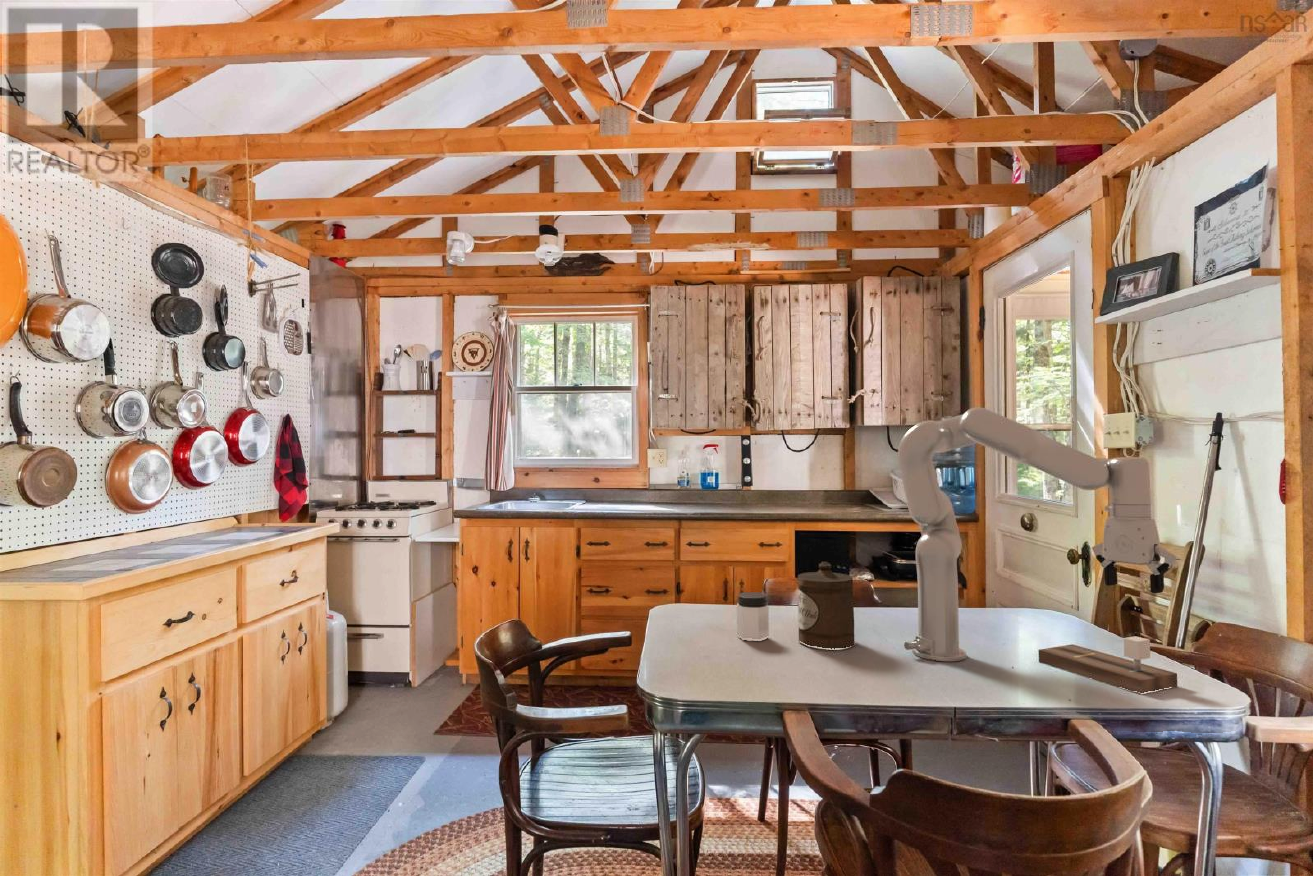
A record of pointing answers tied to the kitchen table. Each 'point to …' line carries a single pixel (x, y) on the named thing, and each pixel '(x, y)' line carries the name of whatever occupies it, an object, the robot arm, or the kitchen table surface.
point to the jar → (752, 615)
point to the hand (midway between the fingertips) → (1133, 588)
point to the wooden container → (826, 608)
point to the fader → (1137, 649)
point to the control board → (1107, 668)
